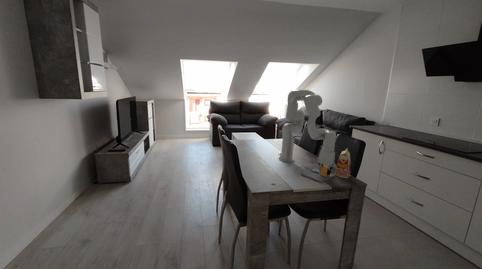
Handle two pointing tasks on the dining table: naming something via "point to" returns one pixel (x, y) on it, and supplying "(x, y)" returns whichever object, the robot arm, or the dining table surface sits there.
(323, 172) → the amber toy cube
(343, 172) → the milk carton
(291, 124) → the robot arm
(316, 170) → the plate
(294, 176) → the dining table surface
